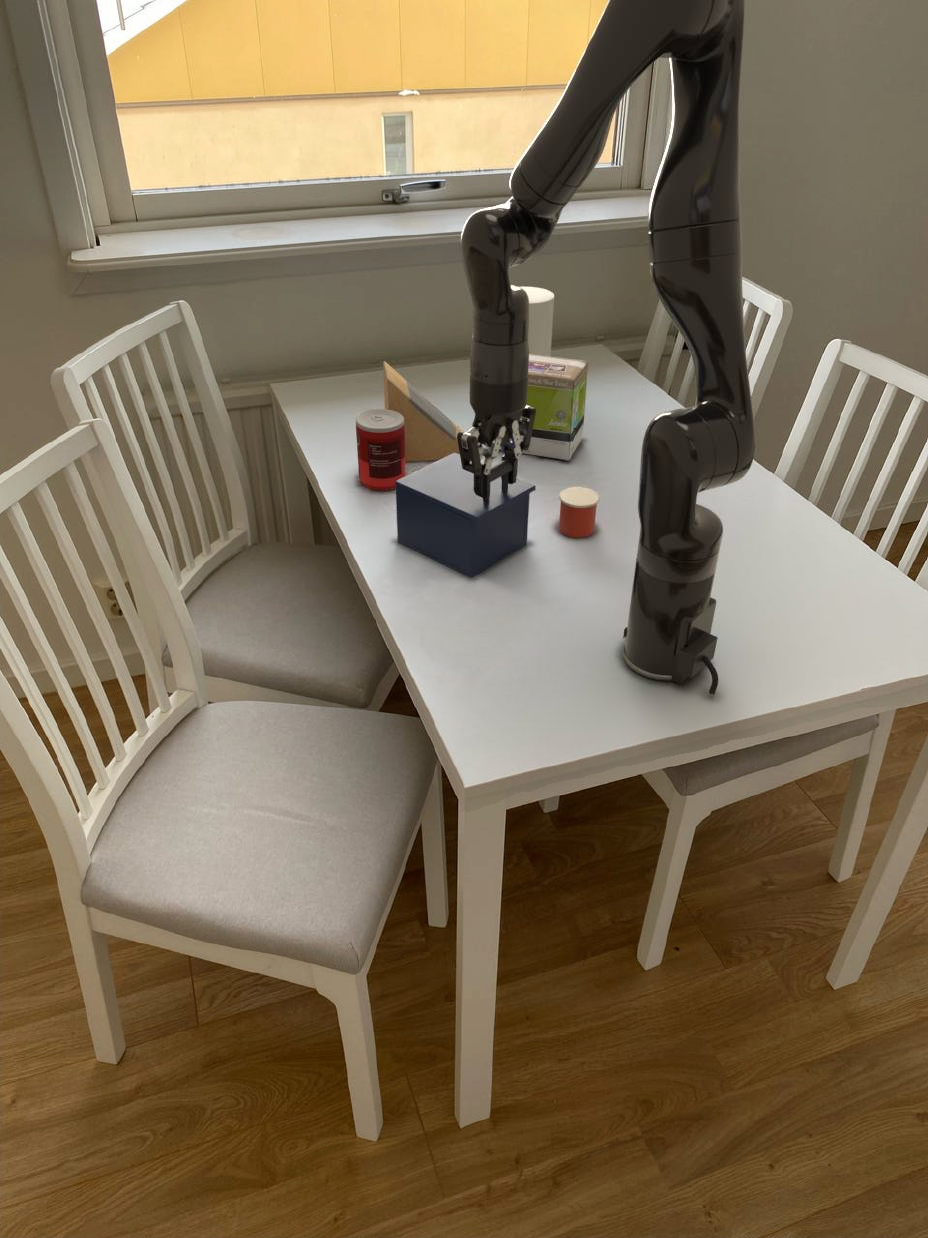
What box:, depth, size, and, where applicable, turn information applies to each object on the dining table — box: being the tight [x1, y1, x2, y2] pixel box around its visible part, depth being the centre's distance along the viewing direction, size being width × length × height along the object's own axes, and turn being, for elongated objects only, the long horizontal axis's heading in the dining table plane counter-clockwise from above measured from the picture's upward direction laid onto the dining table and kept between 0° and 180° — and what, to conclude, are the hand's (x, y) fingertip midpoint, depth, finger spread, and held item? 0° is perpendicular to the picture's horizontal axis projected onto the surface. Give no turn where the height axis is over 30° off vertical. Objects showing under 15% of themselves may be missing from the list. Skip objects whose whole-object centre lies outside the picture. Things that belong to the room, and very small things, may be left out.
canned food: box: [355, 408, 407, 492], centre depth 156 cm, size 8×8×11 cm
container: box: [519, 286, 555, 357], centre depth 182 cm, size 10×10×20 cm
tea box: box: [488, 354, 589, 461], centre depth 167 cm, size 15×10×15 cm, turn 70°
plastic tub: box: [558, 486, 600, 538], centre depth 146 cm, size 6×6×6 cm
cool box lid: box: [395, 453, 537, 522], centre depth 136 cm, size 16×13×5 cm
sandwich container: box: [382, 360, 465, 463], centre depth 165 cm, size 9×15×15 cm, turn 99°
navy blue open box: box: [395, 486, 531, 579], centre depth 141 cm, size 15×13×9 cm
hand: (495, 488), depth 133 cm, fingers closed on cool box lid, 5 cm apart
